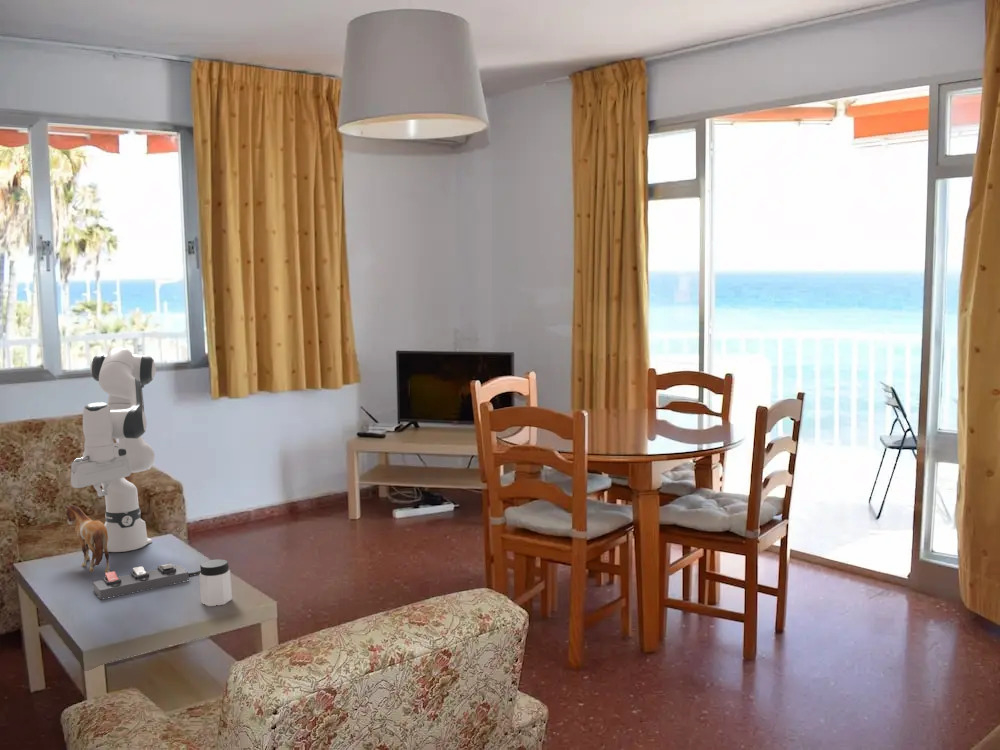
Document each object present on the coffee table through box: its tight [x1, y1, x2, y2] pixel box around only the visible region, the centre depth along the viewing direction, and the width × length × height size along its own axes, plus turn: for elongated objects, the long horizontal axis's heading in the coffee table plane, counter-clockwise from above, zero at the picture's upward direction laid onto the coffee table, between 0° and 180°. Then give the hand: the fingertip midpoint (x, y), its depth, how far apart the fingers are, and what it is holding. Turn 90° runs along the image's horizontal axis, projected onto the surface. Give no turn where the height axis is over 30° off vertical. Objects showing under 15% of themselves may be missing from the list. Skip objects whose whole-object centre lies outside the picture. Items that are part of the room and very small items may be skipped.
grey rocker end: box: [159, 563, 174, 570], centre depth 303 cm, size 5×3×2 cm, turn 35°
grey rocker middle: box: [132, 566, 146, 576], centre depth 298 cm, size 5×3×2 cm, turn 35°
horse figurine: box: [64, 504, 111, 573], centre depth 316 cm, size 31×8×21 cm, turn 39°
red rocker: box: [104, 570, 119, 582], centre depth 293 cm, size 5×3×2 cm, turn 35°
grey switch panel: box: [92, 564, 201, 600], centre depth 299 cm, size 10×34×4 cm, turn 125°
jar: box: [198, 558, 233, 607], centre depth 281 cm, size 9×8×12 cm
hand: (103, 495), depth 298 cm, fingers closed
